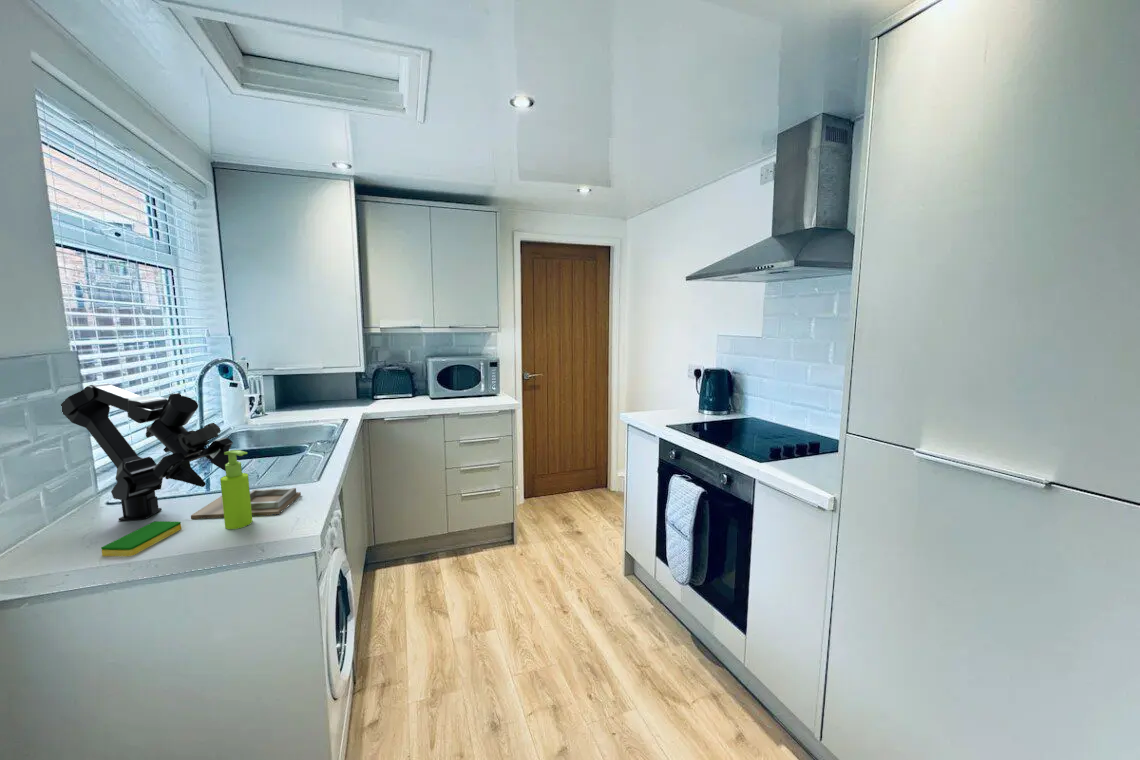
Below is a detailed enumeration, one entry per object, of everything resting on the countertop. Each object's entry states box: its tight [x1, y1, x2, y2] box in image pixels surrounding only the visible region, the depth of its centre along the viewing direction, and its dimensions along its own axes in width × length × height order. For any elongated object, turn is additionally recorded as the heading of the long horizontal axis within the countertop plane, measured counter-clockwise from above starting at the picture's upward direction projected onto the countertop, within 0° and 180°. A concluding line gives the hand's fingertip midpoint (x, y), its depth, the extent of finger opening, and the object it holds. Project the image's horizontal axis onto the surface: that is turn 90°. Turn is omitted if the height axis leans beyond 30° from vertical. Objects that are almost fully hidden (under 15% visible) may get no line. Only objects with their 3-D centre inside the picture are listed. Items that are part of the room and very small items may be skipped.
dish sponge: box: [100, 520, 182, 557], centre depth 112 cm, size 7×14×2 cm, turn 179°
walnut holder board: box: [190, 487, 301, 520], centre depth 132 cm, size 22×14×3 cm, turn 98°
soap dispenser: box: [219, 449, 253, 530], centre depth 120 cm, size 6×7×20 cm
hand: (219, 479), depth 120 cm, fingers open, 9 cm apart
